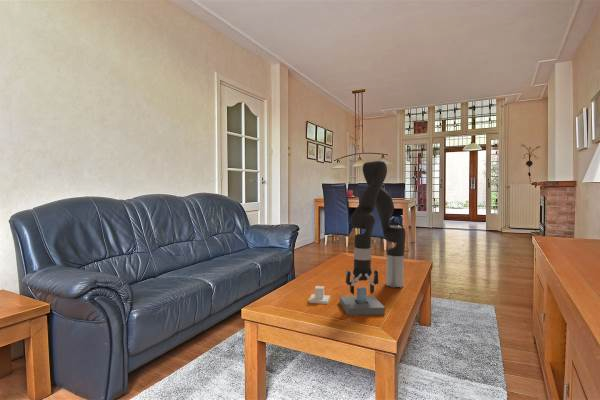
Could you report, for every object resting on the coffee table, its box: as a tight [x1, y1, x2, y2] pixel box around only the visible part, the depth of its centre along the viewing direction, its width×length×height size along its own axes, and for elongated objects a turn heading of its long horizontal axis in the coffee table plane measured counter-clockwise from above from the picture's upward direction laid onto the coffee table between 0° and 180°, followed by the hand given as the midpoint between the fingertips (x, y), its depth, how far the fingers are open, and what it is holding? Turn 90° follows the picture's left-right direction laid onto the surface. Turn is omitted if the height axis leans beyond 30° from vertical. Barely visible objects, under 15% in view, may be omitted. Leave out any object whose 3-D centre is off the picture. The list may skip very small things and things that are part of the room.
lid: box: [307, 285, 331, 305], centre depth 158 cm, size 9×9×6 cm
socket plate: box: [339, 295, 386, 316], centre depth 148 cm, size 16×16×3 cm
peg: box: [356, 286, 367, 304], centre depth 148 cm, size 4×4×9 cm
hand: (361, 293), depth 148 cm, fingers open, 8 cm apart
